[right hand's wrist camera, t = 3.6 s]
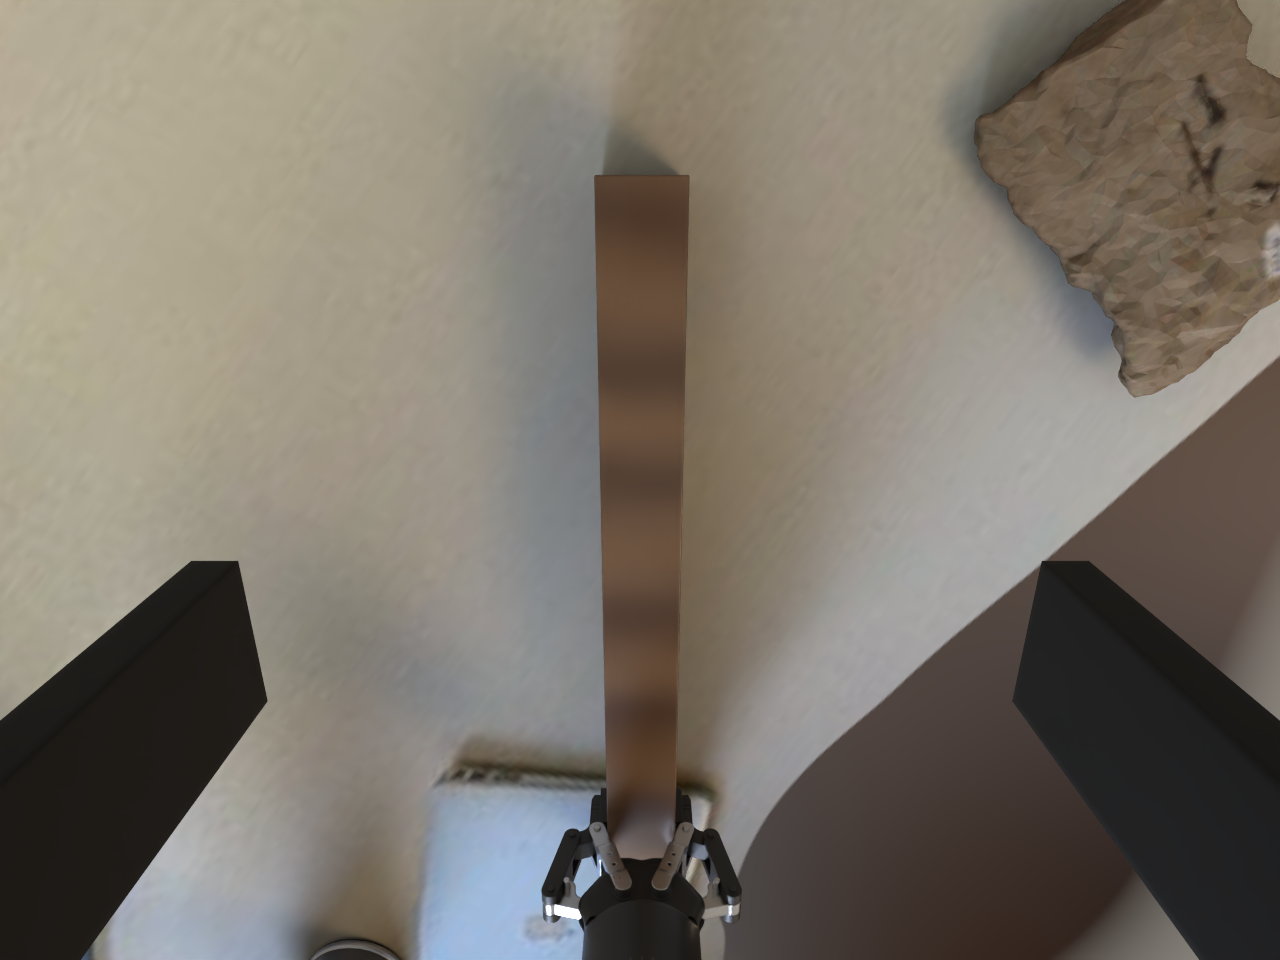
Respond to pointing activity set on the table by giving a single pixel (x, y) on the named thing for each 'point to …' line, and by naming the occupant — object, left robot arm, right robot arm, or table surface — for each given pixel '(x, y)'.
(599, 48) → the table surface
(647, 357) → the beam
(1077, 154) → the stone
